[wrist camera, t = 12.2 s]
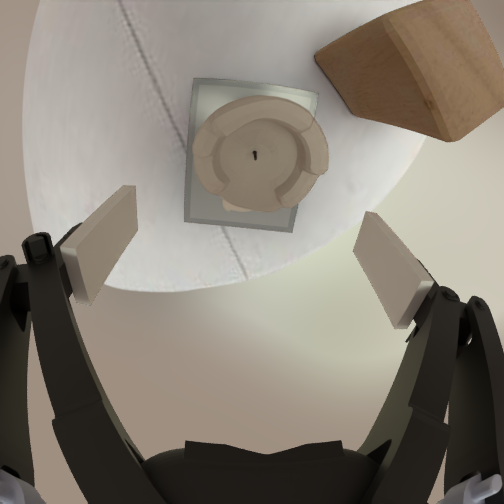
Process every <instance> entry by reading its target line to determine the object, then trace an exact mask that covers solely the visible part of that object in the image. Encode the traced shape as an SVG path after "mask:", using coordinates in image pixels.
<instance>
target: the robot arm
mask: <svg viewBox="0 0 504 504" xmlns="http://www.w3.org/2000/svg"><path fill="white" fill-rule="evenodd" d="M137 231H138V223H137V207H136V186H126V185H123V186H122V187H121V188H120V189H119V190H118V191H116V192H115V193H114V194H113V195H112V196H111V197H110V198H109V199H107V200H106V201H105V202H104V203H103V204H102V205H101V206H100V207H99V208H98V209H97V210H96V211H95V212H93V213H92V214H91V215H90V216H89V217H88V218H87V219H86V220H85V221H84V222H83V223H79V224H77V225H76V226H74V227H72V228H71V229H70V230H69V231H68V232H67V234H65V235H64V236H63V238H62V239H61V240H60V241H59V242H58V243H57V244H56V245H55V246H54V247H53V245H52V241H51V236H50V235H49V233H46V232H40V233H35V234H33V235H31V236H29V237H28V238H26V239H25V240H24V241H23V243H22V248H23V252H24V255H25V258H26V261H27V264H21V265H17V264H16V261H15V258H14V257H13V256H12V255H5V256H1V257H0V504H46V503H45V501H44V500H43V499H42V498H41V496H40V494H39V493H38V492H37V490H36V489H35V488H34V485H35V484H34V468H33V460H32V453H31V445H30V437H29V426H28V410H27V367H28V366H27V365H28V350H29V338H30V330H31V321H32V323H33V330H34V336H35V341H36V346H37V351H38V356H39V360H40V365H41V369H42V373H43V377H44V381H45V384H46V388H47V391H48V394H49V398H50V401H51V404H52V407H53V410H54V413H55V419H53V420H52V426H53V429H54V432H55V435H56V438H57V440H58V443H59V445H60V448H61V450H62V452H63V455H64V457H65V459H66V461H67V464H68V466H69V468H70V470H71V472H72V474H73V476H74V478H75V480H76V482H77V484H78V486H79V488H80V489H81V491H82V493H83V495H84V497H85V498H86V500H87V502H88V504H428V503H427V500H428V498H429V496H430V494H431V491H432V489H433V486H434V484H435V481H436V478H437V476H438V473H439V470H440V467H441V464H442V461H443V458H444V455H445V452H446V448H447V454H446V463H445V475H444V499H442V500H440V501H438V503H437V504H504V352H503V348H502V345H501V342H500V338H499V335H498V332H497V329H496V326H495V323H494V320H493V317H492V314H491V312H490V309H489V307H488V305H487V304H486V303H485V301H484V300H483V299H482V298H479V297H477V296H472V297H471V298H470V300H469V301H468V303H467V304H466V303H463V302H460V299H459V297H458V295H457V294H456V293H455V292H454V291H453V290H451V289H450V288H448V287H445V286H439V285H438V284H437V282H436V281H435V280H434V279H433V277H432V276H431V274H430V273H428V271H427V269H426V268H424V266H423V264H422V263H421V262H420V261H419V260H418V259H416V258H415V257H414V255H413V254H412V253H411V252H410V250H409V249H408V248H407V247H406V246H405V245H404V243H403V242H402V241H401V240H400V239H399V237H398V236H397V235H396V234H395V233H394V232H393V231H392V229H391V228H390V227H389V226H388V225H387V224H386V223H385V222H384V221H383V219H382V218H381V217H380V216H379V215H378V214H377V213H373V212H368V211H366V212H365V215H364V219H363V222H362V225H361V228H360V231H359V234H358V237H357V240H356V243H355V246H354V249H353V252H354V254H355V256H356V257H357V259H358V261H359V263H360V265H361V266H362V268H363V270H364V272H365V273H366V275H367V277H368V279H369V281H370V283H371V284H372V286H373V288H374V290H375V292H376V293H377V296H378V298H379V299H380V301H381V303H382V305H383V307H384V309H385V311H386V313H387V315H388V317H389V319H390V321H391V323H392V325H393V327H394V329H407V328H408V326H409V325H410V323H411V321H412V320H413V319H414V321H415V323H416V326H415V328H414V329H413V331H412V332H411V334H410V335H409V337H408V338H407V340H406V341H405V342H408V341H409V343H408V346H407V349H406V352H405V354H404V357H403V360H402V362H401V365H400V368H399V370H398V373H397V375H396V378H395V380H394V382H393V385H392V387H391V389H390V392H389V394H388V396H387V399H386V401H385V403H384V405H383V407H382V409H381V411H380V413H379V415H378V417H377V419H376V421H375V423H374V425H373V427H372V429H371V431H370V433H369V435H368V436H367V438H366V440H365V442H364V443H363V444H362V446H361V447H360V448H359V449H358V450H357V451H353V450H348V449H343V447H342V441H341V440H339V441H331V442H322V443H311V444H305V445H301V446H298V447H295V448H291V449H288V450H284V451H281V452H277V453H273V454H261V453H256V452H252V451H248V450H244V449H240V448H237V447H233V446H229V445H226V444H213V443H212V444H211V443H202V442H193V441H185V448H182V449H175V450H169V451H166V452H163V453H159V454H157V455H155V456H153V457H151V458H149V459H147V460H145V459H144V458H143V456H142V455H141V453H140V452H139V450H138V449H137V447H136V446H135V445H134V443H133V442H132V440H131V439H130V437H129V435H128V434H127V432H126V430H125V429H124V427H123V425H122V423H121V422H120V420H119V418H118V416H117V414H116V413H115V411H114V409H113V407H112V405H111V403H110V401H109V399H108V397H107V395H106V393H105V391H104V389H103V387H102V385H101V383H100V380H99V378H98V376H97V374H96V371H95V369H94V367H93V365H92V362H91V360H90V357H89V355H88V352H87V350H86V347H85V345H84V342H83V340H82V337H81V334H80V331H79V328H78V325H77V323H76V319H75V317H74V314H73V310H72V307H71V304H70V301H69V297H70V295H71V294H72V292H73V294H74V297H75V300H76V303H81V304H85V305H90V306H91V304H92V303H93V301H94V299H95V297H96V296H97V294H98V292H99V290H100V289H101V287H102V285H103V284H104V282H105V280H106V279H107V277H108V275H109V274H110V272H111V270H112V269H113V267H114V266H115V264H116V262H117V261H118V259H119V258H120V256H121V255H122V253H123V252H124V250H125V248H126V247H127V245H128V244H129V242H130V241H131V239H132V238H133V236H134V235H135V234H136V232H137ZM471 338H472V339H471ZM470 339H471V342H470V343H469V345H468V342H469V341H470ZM448 401H449V416H448V424H446V423H444V418H445V414H446V409H447V405H448Z"/></svg>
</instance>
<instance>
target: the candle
mask: <svg viewBox="0 0 504 504" xmlns="http://www.w3.org/2000/svg"><path fill="white" fill-rule="evenodd" d="M192 150H193V154H194V167H195V172H196V175H197V177H198V180H199V181H200V183H201V184H202V186H203V187H204V188H205V189H206V190H207V191H208V193H211V194H214V195H218V196H220V197H221V198H222V203H223V207H224V209H225V210H227V211H230V210H234V211H239V212H247V211H252V210H254V211H260V212H275V211H277V210H279V209H280V208H281V207H284V208H292V207H294V206H295V205H297V204H298V203H299V202H300V201H301V200H302V199H303V198H304V197H305V196H306V195H307V193H308V192H309V191H310V190H311V188H312V186H313V185H314V183H315V181H316V180H317V178H318V177H319V175H321V174H324V173H325V172H326V171H327V170H328V162H329V154H328V145H327V142H326V138H325V136H324V133H323V131H322V129H321V127H320V126H319V125H318V123H317V122H316V121H315V119H314V117H313V116H312V114H311V112H310V111H309V110H307V109H306V108H304V107H303V106H301V105H300V104H297V103H295V102H293V101H291V100H289V99H285V98H281V97H277V96H265V95H257V96H247V97H243V98H239V99H236V100H234V101H231V102H229V103H227V104H225V105H223V106H222V107H220V108H219V109H217V110H216V111H215V112H214V113H212V114H211V115H210V116H209V117H208V118H207V119H206V121H205V122H204V123H203V124H202V126H201V127H200V129H199V131H198V133H197V134H196V136H195V139H194V142H193V144H192Z"/></svg>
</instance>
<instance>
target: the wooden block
mask: <svg viewBox="0 0 504 504" xmlns="http://www.w3.org/2000/svg"><path fill="white" fill-rule="evenodd" d="M315 59H316V62H317V63H318V64H319V66H320V67H321V68H322V70H323V71H324V72H325V74H326V75H327V76H328V78H329V79H330V81H331V82H332V83H333V85H334V86H335V88H336V89H337V91H338V92H339V94H340V95H341V96H342V98H343V99H344V101H345V103H346V104H347V106H348V107H349V109H350V110H351V112H352V113H353V114H354V115H355V116H357V117H360V118H365V119H369V120H373V121H378V122H382V123H386V124H390V125H393V126H397V127H401V128H404V129H408V130H411V131H415V132H418V133H421V134H424V135H427V136H431V137H433V138H437V139H439V140H442V141H445V142H455V141H458V140H460V139H461V138H463V137H464V136H465V135H467V134H468V133H470V132H471V131H472V130H474V129H475V128H476V127H478V126H479V125H480V124H482V123H483V122H484V121H486V120H487V119H488V118H490V117H491V116H492V115H494V114H495V113H496V112H498V111H499V110H500V109H502V108H503V107H504V69H503V66H502V63H501V61H500V59H499V56H498V54H497V52H496V49H495V47H494V45H493V43H492V40H491V39H490V36H489V34H488V33H487V30H486V28H485V26H484V24H483V23H482V21H481V19H480V17H479V15H478V14H477V12H476V10H475V8H474V7H473V5H472V3H471V2H470V0H422V1H419V2H416V3H413V4H410V5H407V6H405V7H402V8H399V9H396V10H394V11H391V12H388V13H386V14H384V15H382V16H380V17H378V18H376V19H374V20H372V21H370V22H368V23H366V24H364V25H362V26H360V27H358V28H356V29H355V30H353V31H351V32H349V33H347V34H346V35H344V36H342V37H340V38H339V39H337V40H335V41H333V42H332V43H330V44H328V45H327V46H325V47H324V48H322V49H320V50H319V51H317V53H316V54H315Z"/></svg>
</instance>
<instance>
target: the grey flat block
mask: <svg viewBox="0 0 504 504" xmlns="http://www.w3.org/2000/svg"><path fill="white" fill-rule="evenodd" d="M257 95H265V96H277V97H281V98H285V99H289V100H291V101H293V102H295V103H297V104H300V105H301V106H303V107H304V108H306V109H307V110H309V111H310V112H311V114H312V116H313V117H315V111H316V105H317V99H318V93H315V92H310V91H305V90H300V89H295V88H289V87H283V86H277V85H270V84H263V83H255V82H246V81H236V80H224V79H207V78H194V79H193V88H192V97H191V107H190V118H189V129H188V143H187V158H186V177H185V203H184V222H188V223H199V224H210V225H221V226H231V227H242V228H251V229H261V230H271V231H280V232H289V233H292V232H293V227H294V222H295V218H296V213H297V208H298V204H297V205H295V206H294V207H292V208H284V207H281V208H280V209H279V210H277V211H275V212H260V211H254V210H252V211H247V212H239V211H234V210H230V211H227V210H225V209H224V207H223V203H222V198H221V197H220V196H218V195H214V194H211V193H208V191H207V190H206V189H205V188H204V187H203V186H202V184H201V183H200V181H199V180H198V177H197V175H196V172H195V167H194V154H193V150H192V144H193V142H194V139H195V136H196V134H197V133H198V131H199V129H200V127H201V126H202V124H203V123H204V122H205V121H206V119H207V118H208V117H209V116H210V115H211V114H212V113H214V112H215V111H216V110H217V109H219V108H220V107H222V106H223V105H225V104H227V103H229V102H231V101H234V100H236V99H239V98H243V97H247V96H257Z"/></svg>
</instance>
